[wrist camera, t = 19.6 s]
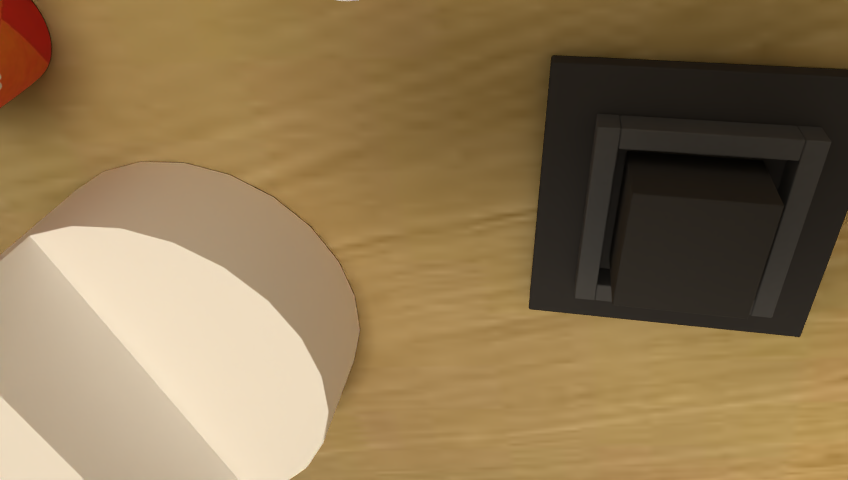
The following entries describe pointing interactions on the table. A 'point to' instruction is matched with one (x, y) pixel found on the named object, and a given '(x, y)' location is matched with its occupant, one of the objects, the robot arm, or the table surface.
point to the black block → (692, 233)
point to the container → (170, 333)
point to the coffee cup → (21, 47)
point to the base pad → (691, 136)
